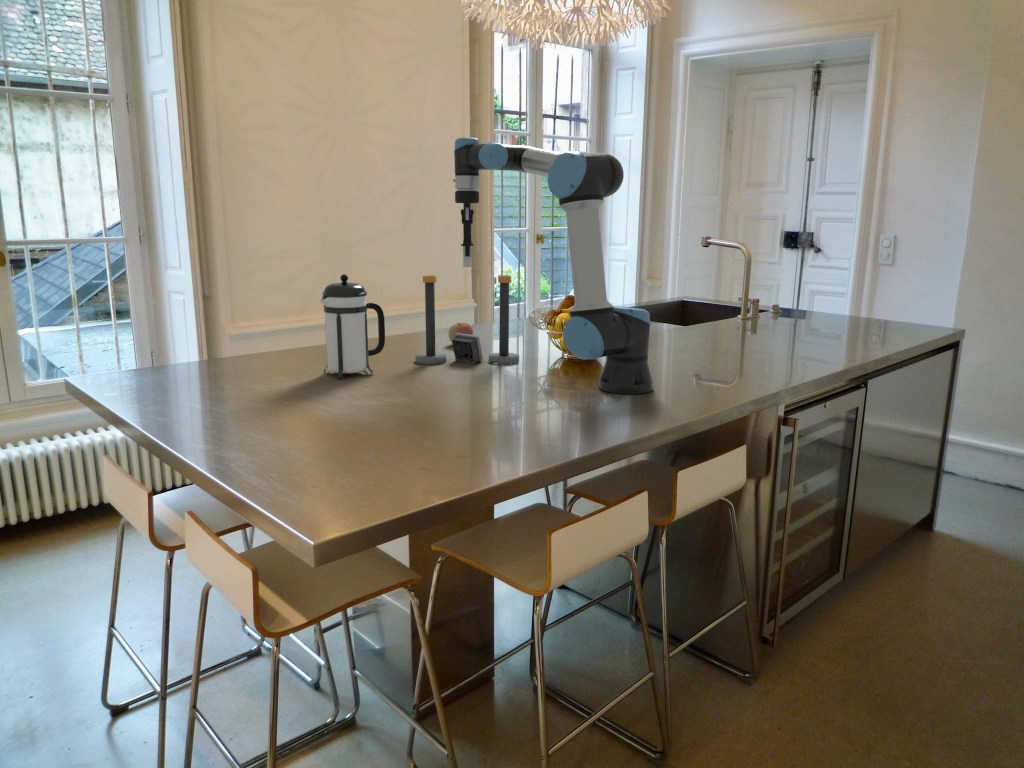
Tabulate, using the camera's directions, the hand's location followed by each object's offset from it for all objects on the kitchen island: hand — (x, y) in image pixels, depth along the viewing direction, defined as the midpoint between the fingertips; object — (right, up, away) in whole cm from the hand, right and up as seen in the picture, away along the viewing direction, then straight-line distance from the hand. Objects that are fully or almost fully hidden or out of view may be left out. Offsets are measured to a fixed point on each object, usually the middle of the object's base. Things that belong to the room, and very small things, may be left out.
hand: (467, 266), depth 241 cm
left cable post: (-12, -30, +7) cm, 33 cm away
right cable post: (+12, -30, +8) cm, 33 cm away
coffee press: (-35, -34, -11) cm, 50 cm away
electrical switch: (0, -30, +8) cm, 31 cm away
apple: (-5, -23, +35) cm, 42 cm away
